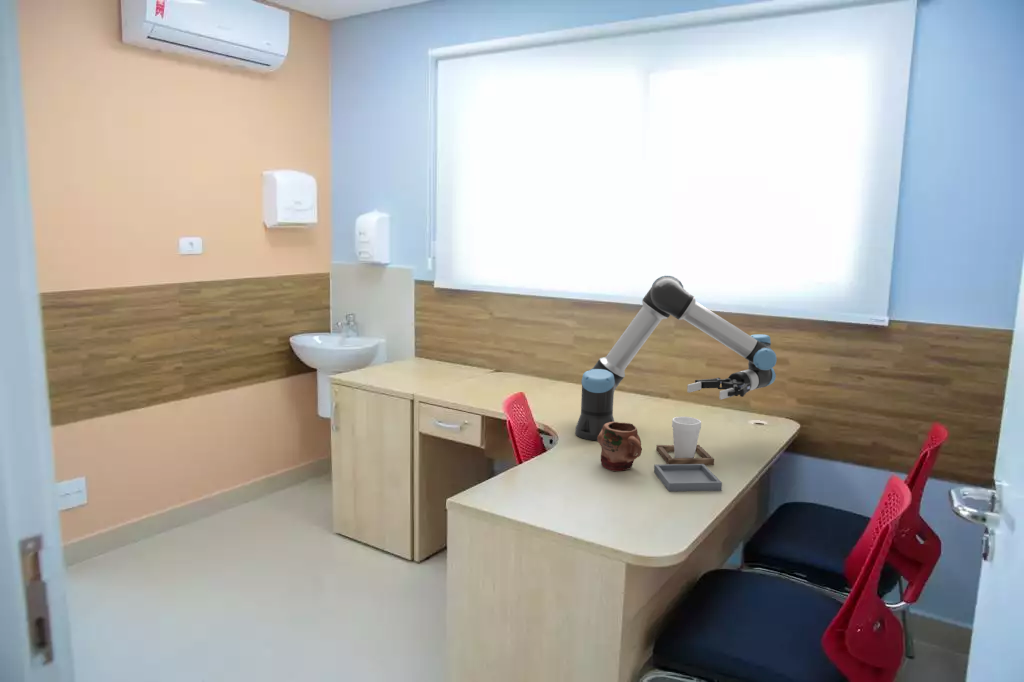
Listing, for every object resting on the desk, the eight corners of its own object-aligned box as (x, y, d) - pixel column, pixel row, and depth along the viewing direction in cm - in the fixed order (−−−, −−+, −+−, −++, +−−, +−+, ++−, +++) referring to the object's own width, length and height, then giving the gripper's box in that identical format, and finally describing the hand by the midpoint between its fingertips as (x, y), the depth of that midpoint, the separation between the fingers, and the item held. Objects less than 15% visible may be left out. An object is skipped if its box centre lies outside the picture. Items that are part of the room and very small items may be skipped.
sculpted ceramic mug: (656, 474, 228) (658, 431, 225) (627, 481, 221) (629, 437, 219) (613, 455, 244) (615, 415, 242) (585, 462, 237) (587, 421, 235)
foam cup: (699, 463, 238) (701, 425, 236) (670, 461, 240) (672, 423, 238) (697, 454, 247) (700, 417, 245) (670, 452, 249) (672, 415, 247)
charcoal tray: (668, 491, 214) (669, 483, 213) (654, 471, 230) (654, 464, 229) (721, 490, 215) (721, 482, 215) (703, 471, 231) (703, 463, 230)
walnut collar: (668, 465, 236) (669, 459, 235) (656, 450, 250) (656, 445, 250) (713, 465, 237) (714, 459, 236) (698, 450, 251) (698, 444, 251)
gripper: (773, 398, 249) (734, 409, 237) (713, 386, 269) (675, 396, 257) (773, 376, 248) (734, 387, 236) (714, 366, 268) (675, 375, 256)
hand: (703, 391), depth 246 cm, fingers open, 13 cm apart
